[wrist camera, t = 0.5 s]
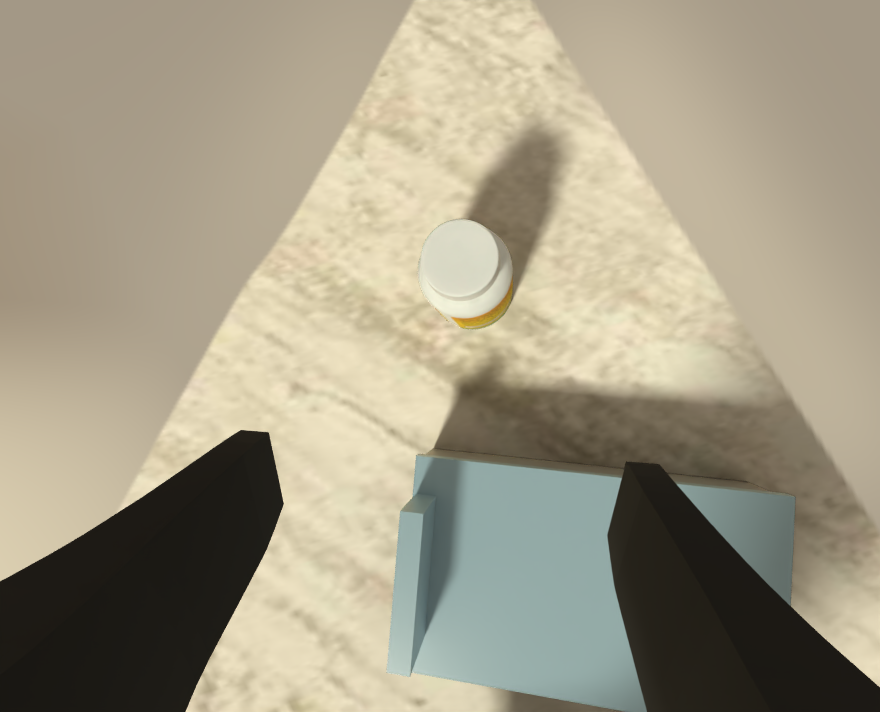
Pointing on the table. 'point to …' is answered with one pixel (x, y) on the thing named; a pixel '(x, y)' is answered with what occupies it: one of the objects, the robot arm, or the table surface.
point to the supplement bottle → (466, 274)
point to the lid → (541, 576)
